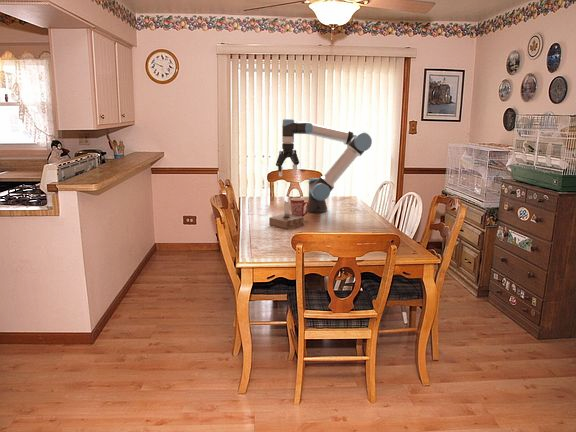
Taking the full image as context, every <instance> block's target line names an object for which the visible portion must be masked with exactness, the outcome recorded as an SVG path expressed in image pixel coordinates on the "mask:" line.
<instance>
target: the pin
mask: <svg viewBox="0 0 576 432" xmlns="http://www.w3.org/2000/svg"><path fill="white" fill-rule="evenodd" d="M283 208H284V209H283V214H284V218H290V214H291V213H290V212H291V211H290V210H291V200H284V201H283Z"/></svg>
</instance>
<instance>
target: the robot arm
mask: <svg viewBox="0 0 576 432" xmlns="http://www.w3.org/2000/svg"><path fill="white" fill-rule="evenodd" d="M281 127H282V128H281V129H282V131H281V132H282V135H281V136H282V139H281V140H282V141H281V142H282V144H281V145H282V146H281V149H282V150H279V152H278V153H279V154H278V158H277V160H276V163H275V166H276V167H278V168H277V170H278V177H280V178H281V177H283V164H284V163H285V160H286V159H287V158H290V160H291V162H292V175H294V176H295V175H297V170H298V165H299V164H300V160H299V158H298V155H297V149H295V146H294V145H295V144H294V143H295V134H296V135H298V134H299V135H300V134H301V135H309V136H313V137H318V138H323V139H327V140H331V141H335V142H339V143H343V144H344V145H346V149H345V150H344V151H343V153H342V154H341V155H340V156H339V157H338V158H337V160H336V161H335V162H334V163H333V164H332V166H331V167H330V168H329V169H328V171H327V172H326V173H325V174H324V175H322V176H320V177H312V178H311V177H310V178H309V180H308V198H307V199H308V200H307V202H309V204H310V209H309V211H308V212H309V213H318V214H319V213H320V214H321V213H326V212H328V206H327V203H326V200H327V199H328V198H330V194H331V192H332V191H333V189H334V188H335V183H337V181H338V180H339V179H340V178H341V176H342V175H343V174H345V171H347V169H348V168H349V167H350V165H351V164H352V163H353V162H354V161H355V160H356V158H358V157H361V156H362V155H363V154H364V153H365V152H366V151H368V150H370V148H371V147H372V139H373V138H372V136H371V135H369V133H367V132H365V131H358V130H357V131H354V130H341V129H337V128H333V127H328V126H324V125H319V124H316V123H313V122H309V121H302V120H300V121H295V119H294V118H284V119H282V126H281ZM308 208H309V205H308V204H307V203H306V206H305V211H306V212H307V210H308ZM308 212H307V213H308Z"/></svg>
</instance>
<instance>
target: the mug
mask: <svg viewBox="0 0 576 432" xmlns="http://www.w3.org/2000/svg"><path fill="white" fill-rule="evenodd" d="M307 204H308V205H309V208H308V210H307V211H306V212H305V213H304V210H305V205H307ZM309 209H310V204H309V202H308V201H305V198H303V197H293V198H290V210H291V211H290V212H291V213H290V214H292V215H296V216H301V217H304V218H305V216H306V215H307V214H308V211H309Z"/></svg>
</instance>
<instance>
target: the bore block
mask: <svg viewBox="0 0 576 432" xmlns="http://www.w3.org/2000/svg"><path fill="white" fill-rule="evenodd" d="M304 218H305V216H304V217H301V216H296V215H292V213H290V218H284V213H283V214H279V215H275V216H269V218H268V219H269V221H268V222H269V224H268V225H270V226H269V227H273V226H274V227H275V228H277V229H282V230H290V229H294V228H297V227H301V226H304V224H305V219H304ZM274 227H273V228H274Z"/></svg>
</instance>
